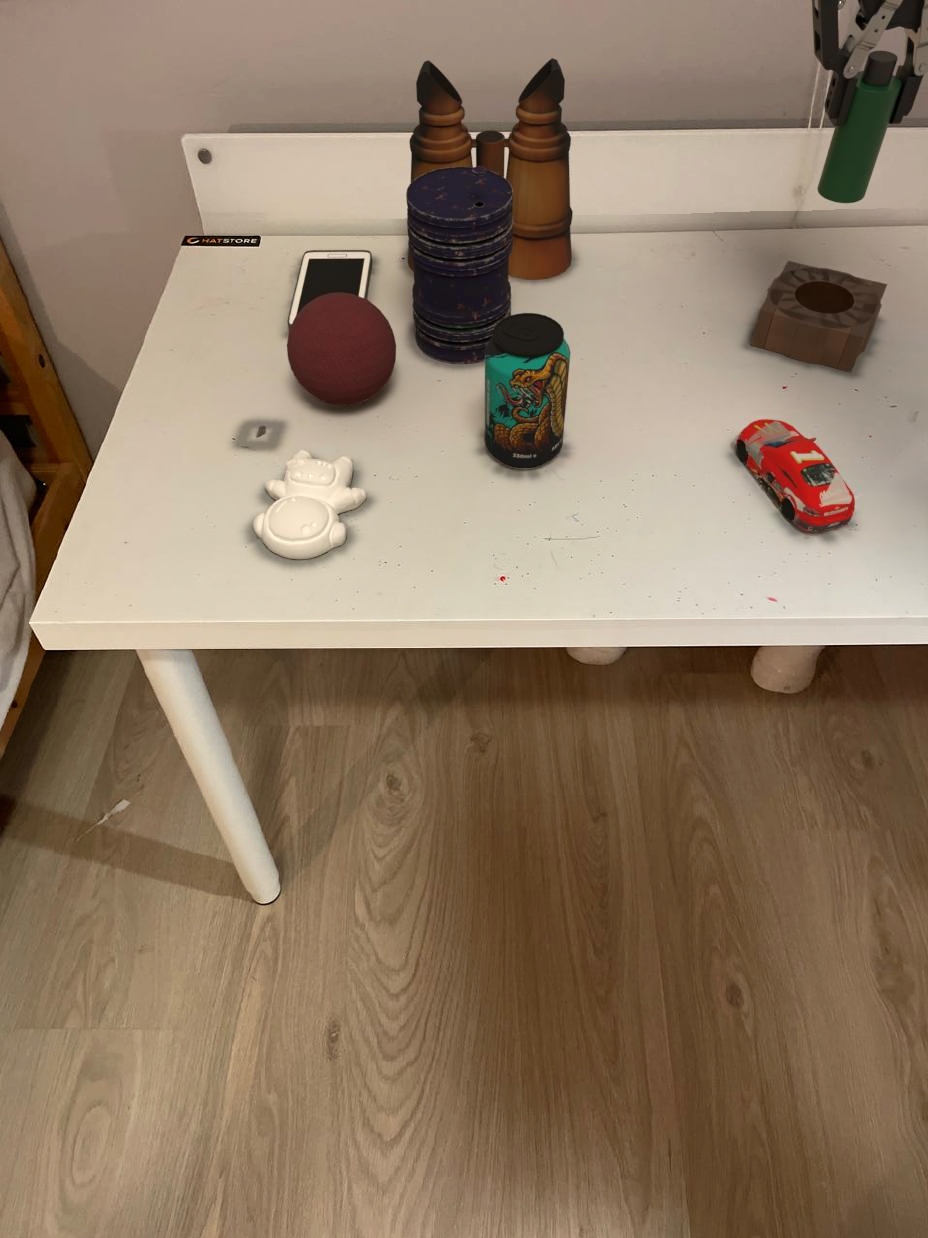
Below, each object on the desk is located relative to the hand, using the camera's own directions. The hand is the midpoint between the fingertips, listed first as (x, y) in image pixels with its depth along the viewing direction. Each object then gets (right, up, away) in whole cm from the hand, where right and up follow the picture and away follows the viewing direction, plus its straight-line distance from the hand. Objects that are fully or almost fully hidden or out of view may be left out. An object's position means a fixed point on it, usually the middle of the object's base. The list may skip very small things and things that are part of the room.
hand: (864, 119), depth 76 cm
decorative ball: (-44, -19, +14) cm, 50 cm away
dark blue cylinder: (-33, -12, +19) cm, 40 cm away
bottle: (0, -4, +5) cm, 6 cm away
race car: (-4, -29, +5) cm, 30 cm away
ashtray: (+3, -12, +19) cm, 22 cm away
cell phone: (-47, -6, +24) cm, 53 cm away
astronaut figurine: (-46, -31, +4) cm, 56 cm away
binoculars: (-30, -1, +28) cm, 41 cm away
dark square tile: (-51, -24, +11) cm, 58 cm away
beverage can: (-27, -25, +9) cm, 38 cm away
